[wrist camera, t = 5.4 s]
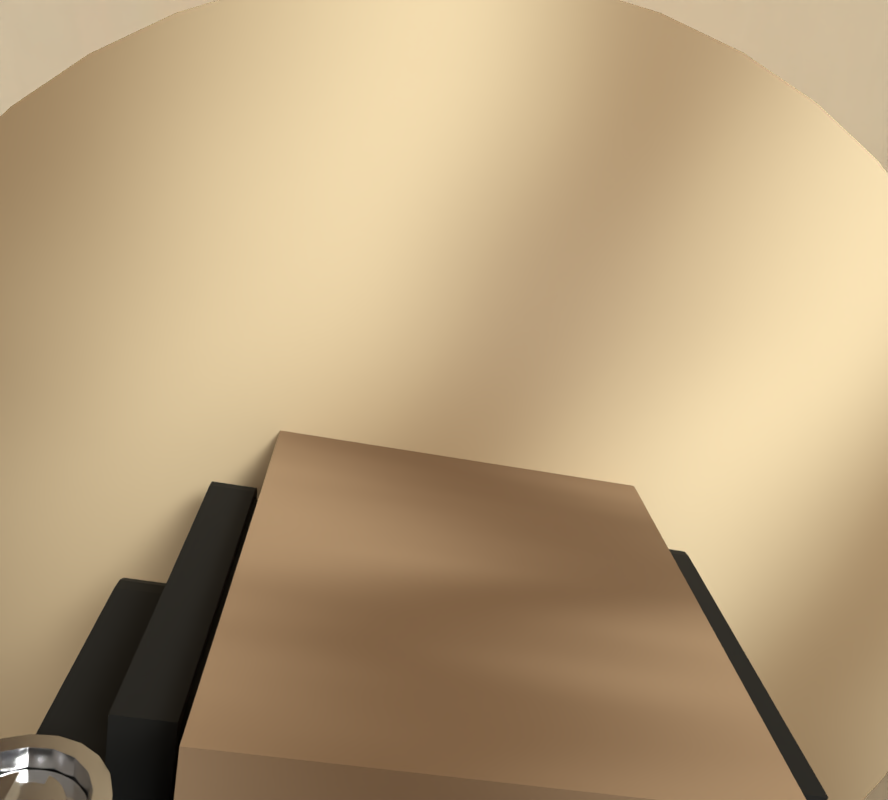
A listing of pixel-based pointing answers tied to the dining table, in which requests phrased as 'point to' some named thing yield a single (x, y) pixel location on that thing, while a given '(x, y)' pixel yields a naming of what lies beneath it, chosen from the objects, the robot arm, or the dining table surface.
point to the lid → (455, 397)
